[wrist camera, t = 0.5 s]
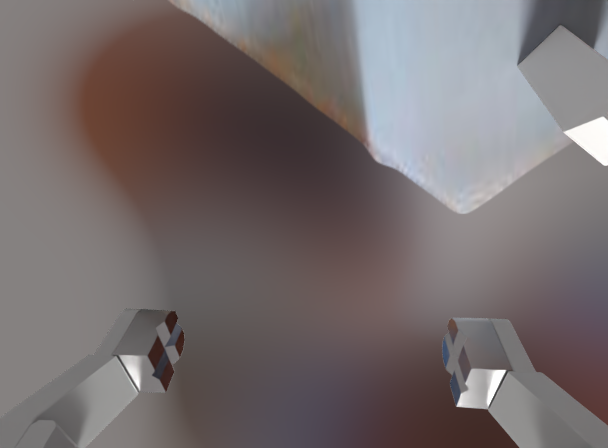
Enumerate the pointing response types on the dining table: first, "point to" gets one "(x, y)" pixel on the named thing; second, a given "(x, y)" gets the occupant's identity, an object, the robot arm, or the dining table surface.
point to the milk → (572, 88)
